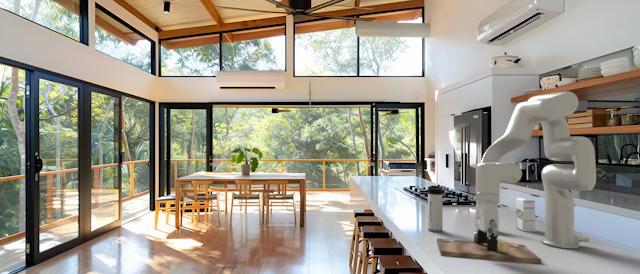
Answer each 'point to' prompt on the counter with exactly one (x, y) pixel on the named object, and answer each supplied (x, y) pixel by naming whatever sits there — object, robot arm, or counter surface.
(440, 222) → the travel mug
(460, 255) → the door panel
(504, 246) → the swing bar
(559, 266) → the counter surface
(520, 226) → the syrup box
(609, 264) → the counter surface
